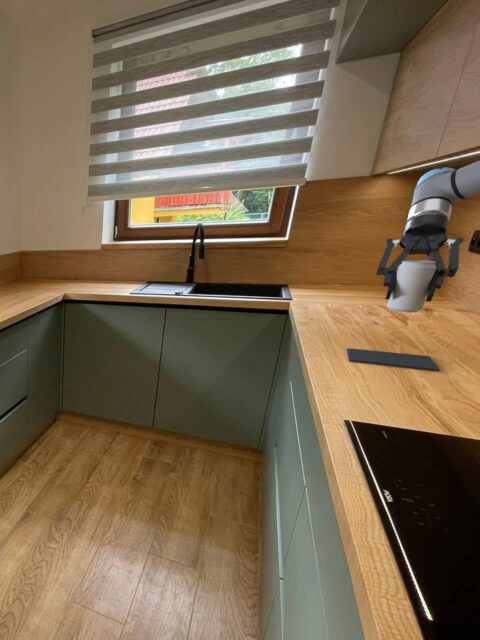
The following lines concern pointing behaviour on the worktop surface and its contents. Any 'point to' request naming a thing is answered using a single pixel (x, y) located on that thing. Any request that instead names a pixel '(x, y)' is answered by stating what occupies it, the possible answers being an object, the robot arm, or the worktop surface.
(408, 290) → the beverage can
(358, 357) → the mat
